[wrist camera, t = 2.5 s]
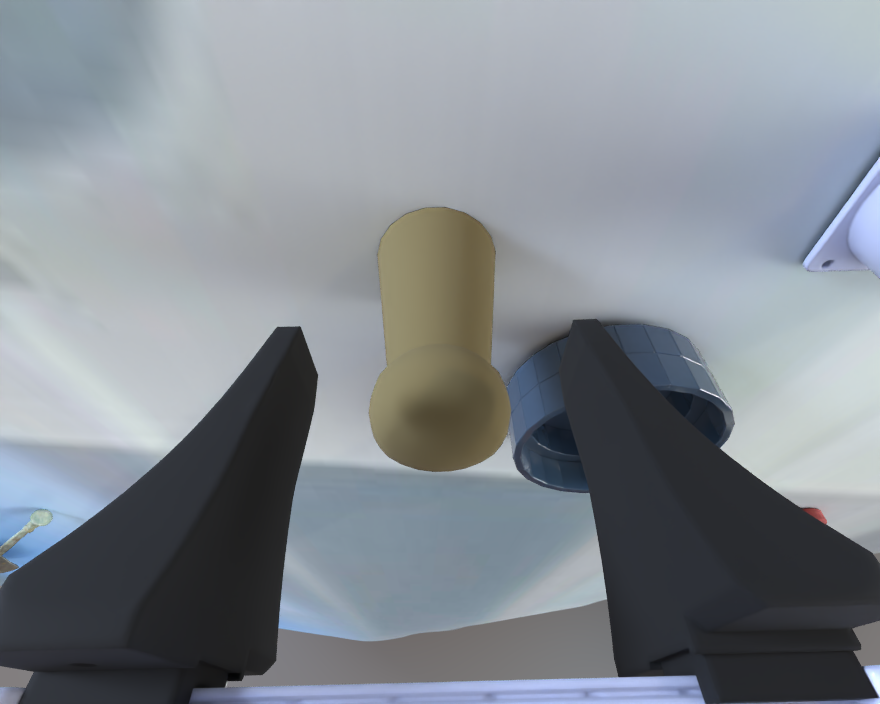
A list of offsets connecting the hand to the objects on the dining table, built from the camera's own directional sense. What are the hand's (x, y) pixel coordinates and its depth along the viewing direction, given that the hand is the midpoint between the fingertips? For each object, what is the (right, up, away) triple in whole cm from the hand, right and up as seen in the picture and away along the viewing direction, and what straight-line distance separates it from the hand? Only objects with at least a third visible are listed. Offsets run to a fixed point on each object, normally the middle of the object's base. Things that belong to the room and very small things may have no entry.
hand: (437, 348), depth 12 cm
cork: (0, +5, +11) cm, 12 cm away
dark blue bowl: (+11, -2, +19) cm, 22 cm away
